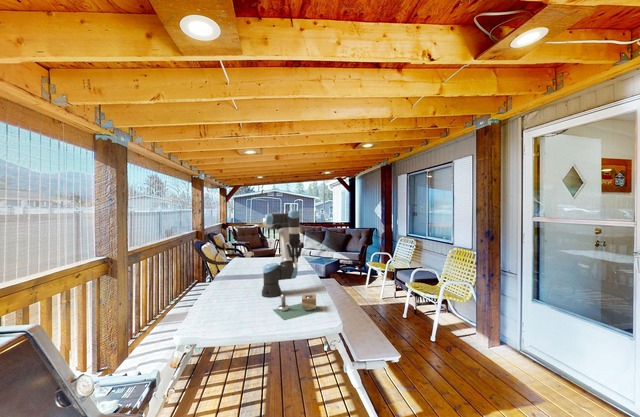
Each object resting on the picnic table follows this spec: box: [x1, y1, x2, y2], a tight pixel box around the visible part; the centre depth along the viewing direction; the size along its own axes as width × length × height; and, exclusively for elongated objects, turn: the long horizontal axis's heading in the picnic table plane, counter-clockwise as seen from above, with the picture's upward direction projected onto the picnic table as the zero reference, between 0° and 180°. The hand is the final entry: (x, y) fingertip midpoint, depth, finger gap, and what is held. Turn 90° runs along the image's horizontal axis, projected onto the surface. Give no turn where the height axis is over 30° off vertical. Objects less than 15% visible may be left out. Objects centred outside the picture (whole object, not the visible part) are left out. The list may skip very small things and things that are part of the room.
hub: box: [303, 296, 315, 311], centre depth 191 cm, size 8×8×8 cm
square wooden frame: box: [301, 293, 317, 308], centre depth 191 cm, size 9×9×6 cm
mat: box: [272, 302, 324, 321], centre depth 190 cm, size 20×28×1 cm
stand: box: [277, 293, 290, 312], centre depth 191 cm, size 7×7×10 cm
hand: (295, 267), depth 199 cm, fingers closed
